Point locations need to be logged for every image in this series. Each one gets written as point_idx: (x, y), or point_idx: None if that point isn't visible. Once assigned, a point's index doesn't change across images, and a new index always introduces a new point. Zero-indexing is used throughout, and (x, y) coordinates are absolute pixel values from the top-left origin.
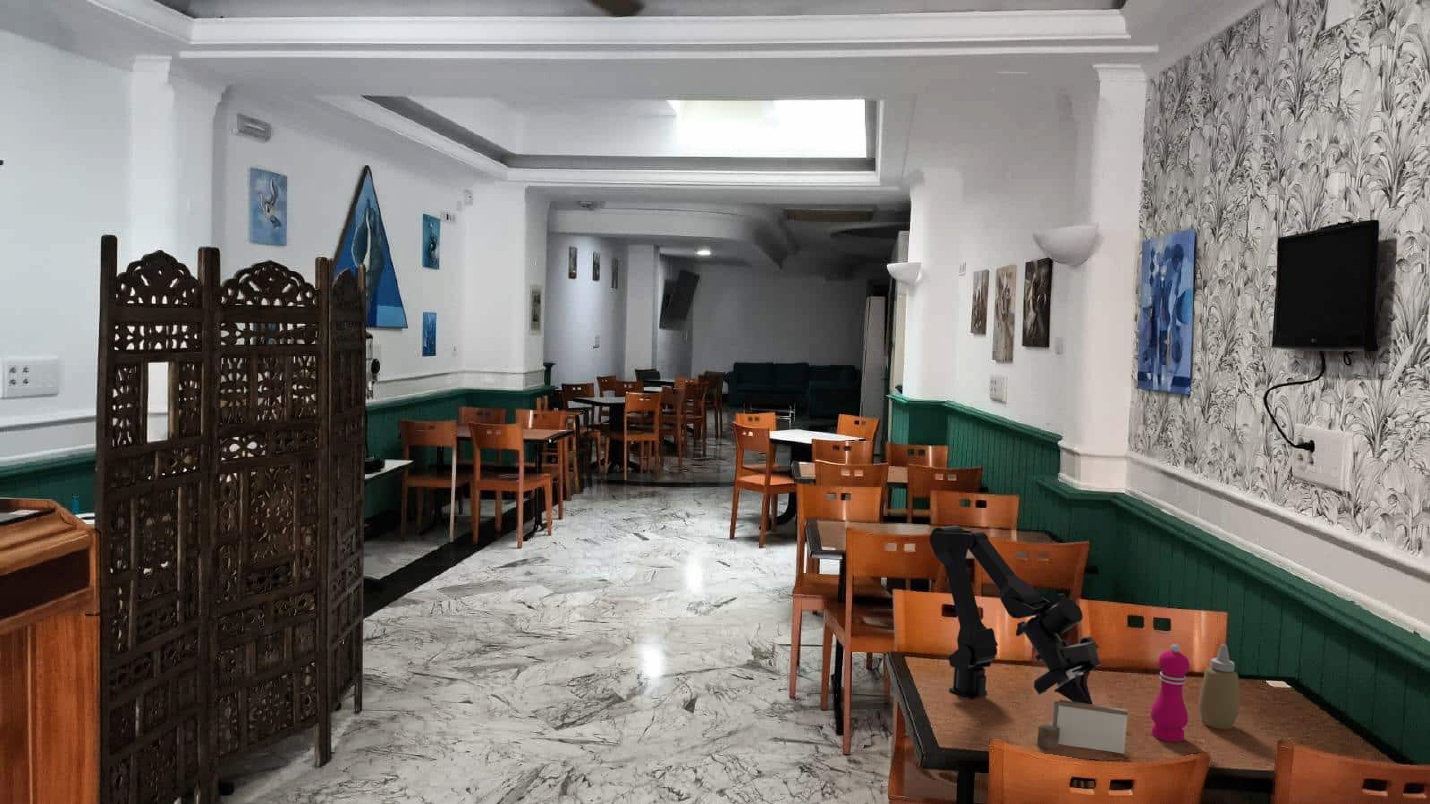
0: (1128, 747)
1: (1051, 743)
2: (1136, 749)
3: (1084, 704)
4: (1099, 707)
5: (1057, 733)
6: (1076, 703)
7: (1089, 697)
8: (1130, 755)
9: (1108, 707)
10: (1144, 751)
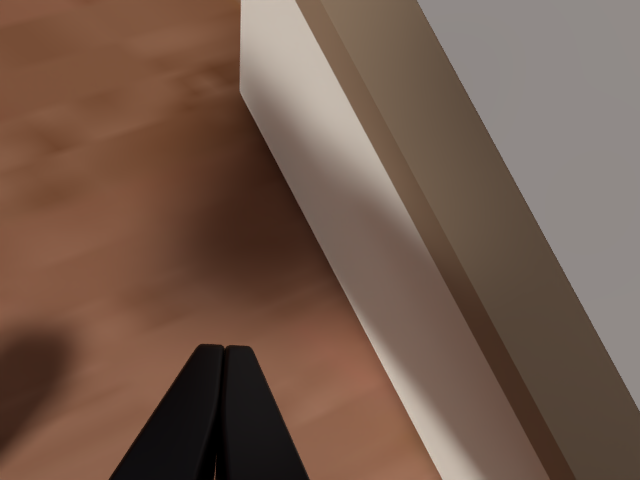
0: (99, 107)
1: None
2: (90, 57)
3: (575, 361)
4: (496, 152)
5: None
6: (634, 468)
7: (156, 474)
8: (230, 55)
9: (387, 55)
10: (81, 7)
